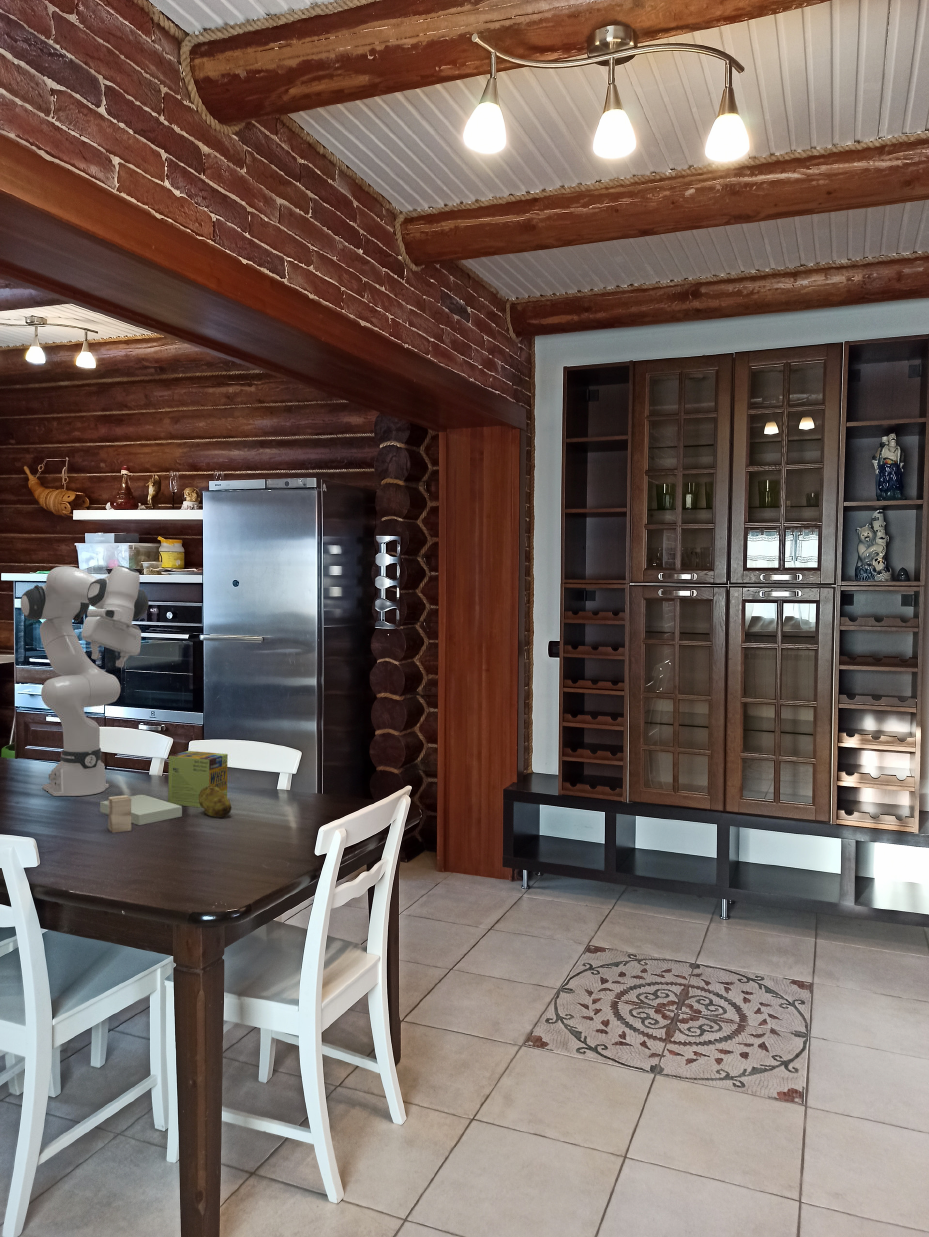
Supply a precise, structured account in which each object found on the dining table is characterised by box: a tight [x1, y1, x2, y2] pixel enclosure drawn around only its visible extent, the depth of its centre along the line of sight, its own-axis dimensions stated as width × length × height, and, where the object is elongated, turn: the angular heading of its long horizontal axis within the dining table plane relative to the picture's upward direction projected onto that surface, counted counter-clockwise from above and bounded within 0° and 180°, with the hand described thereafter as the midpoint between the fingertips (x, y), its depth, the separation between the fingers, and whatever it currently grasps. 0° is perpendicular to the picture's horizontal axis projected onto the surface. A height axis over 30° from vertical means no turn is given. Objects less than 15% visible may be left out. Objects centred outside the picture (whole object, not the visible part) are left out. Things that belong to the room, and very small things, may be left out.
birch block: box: [108, 794, 132, 833], centre depth 257 cm, size 5×5×9 cm
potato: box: [199, 786, 233, 818], centre depth 276 cm, size 8×13×8 cm, turn 27°
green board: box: [99, 794, 183, 826], centre depth 274 cm, size 22×14×3 cm, turn 50°
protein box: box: [167, 750, 228, 809], centre depth 290 cm, size 10×15×16 cm
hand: (107, 662), depth 269 cm, fingers open, 8 cm apart
